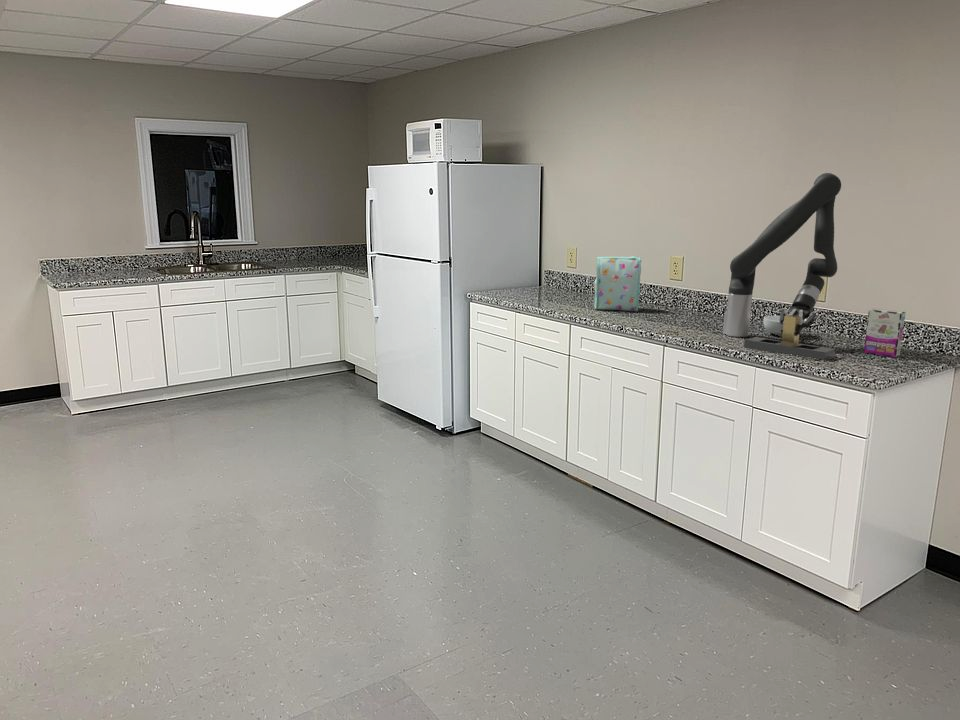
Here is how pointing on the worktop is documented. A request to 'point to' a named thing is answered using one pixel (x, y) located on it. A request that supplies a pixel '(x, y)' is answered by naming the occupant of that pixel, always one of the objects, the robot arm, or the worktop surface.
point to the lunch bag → (617, 283)
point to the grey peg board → (789, 348)
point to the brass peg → (790, 328)
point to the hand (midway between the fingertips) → (788, 333)
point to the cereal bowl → (774, 324)
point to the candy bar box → (884, 332)
